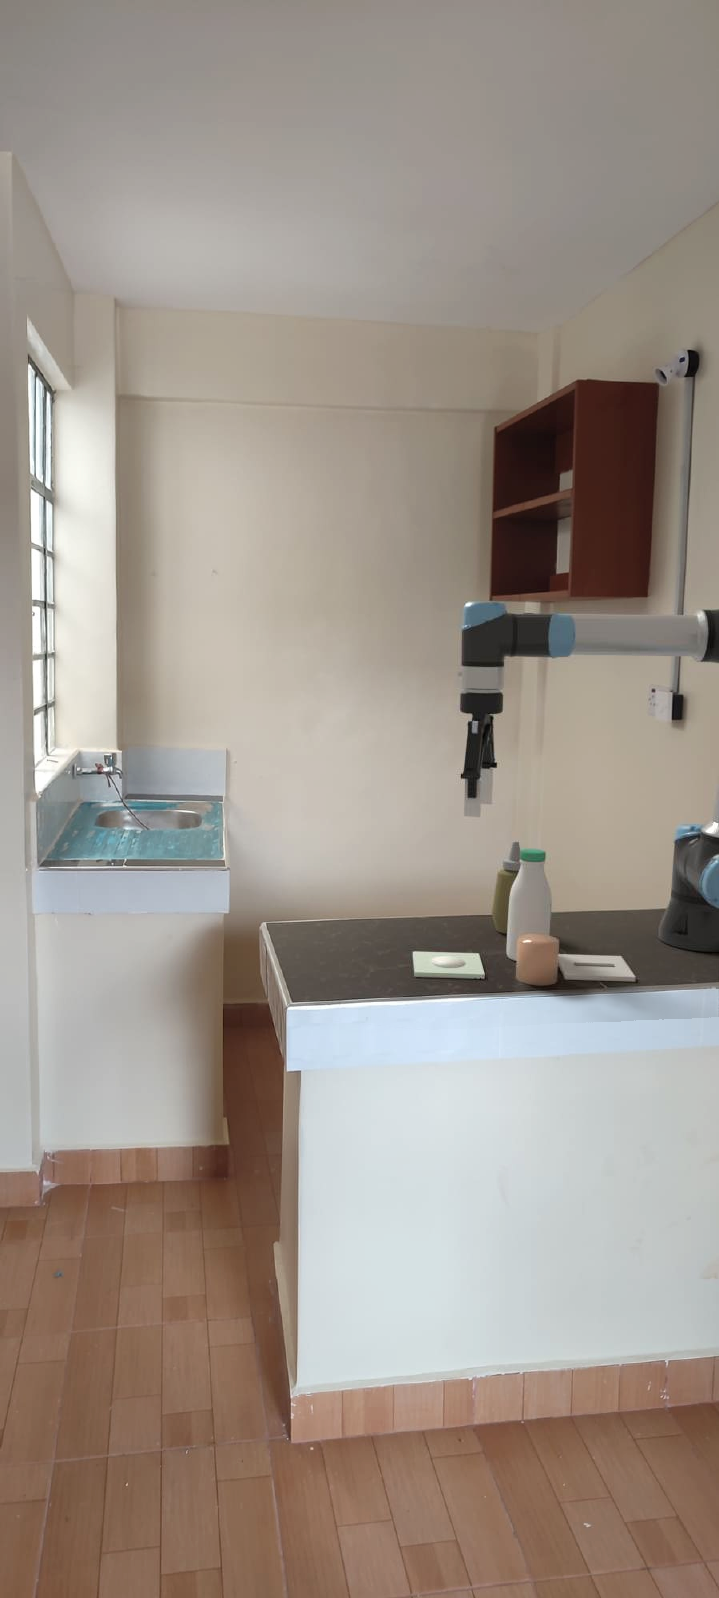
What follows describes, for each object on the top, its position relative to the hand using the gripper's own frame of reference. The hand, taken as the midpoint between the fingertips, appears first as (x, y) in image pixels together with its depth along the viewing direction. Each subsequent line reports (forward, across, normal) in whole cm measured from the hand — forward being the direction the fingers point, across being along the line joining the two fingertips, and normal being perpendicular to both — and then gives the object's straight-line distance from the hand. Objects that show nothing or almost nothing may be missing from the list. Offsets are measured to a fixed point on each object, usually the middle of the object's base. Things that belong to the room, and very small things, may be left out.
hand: (478, 809), depth 203 cm
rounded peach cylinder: (+27, +9, +12) cm, 31 cm away
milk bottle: (+28, -3, +9) cm, 29 cm away
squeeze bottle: (+28, -19, +4) cm, 34 cm away
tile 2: (+27, +1, +22) cm, 35 cm away
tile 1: (+27, +8, -4) cm, 28 cm away
